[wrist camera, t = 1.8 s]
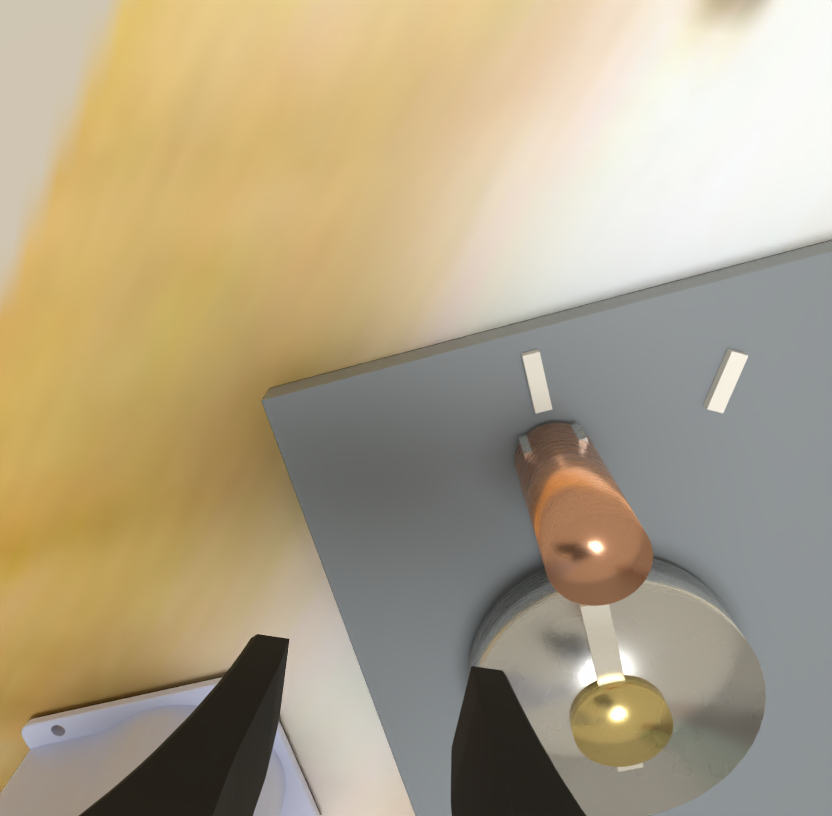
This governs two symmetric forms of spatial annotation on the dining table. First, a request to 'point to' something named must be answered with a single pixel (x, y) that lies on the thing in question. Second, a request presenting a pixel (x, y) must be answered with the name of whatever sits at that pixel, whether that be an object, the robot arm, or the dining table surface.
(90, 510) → the dining table surface
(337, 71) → the dining table surface
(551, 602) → the dial
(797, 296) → the board
